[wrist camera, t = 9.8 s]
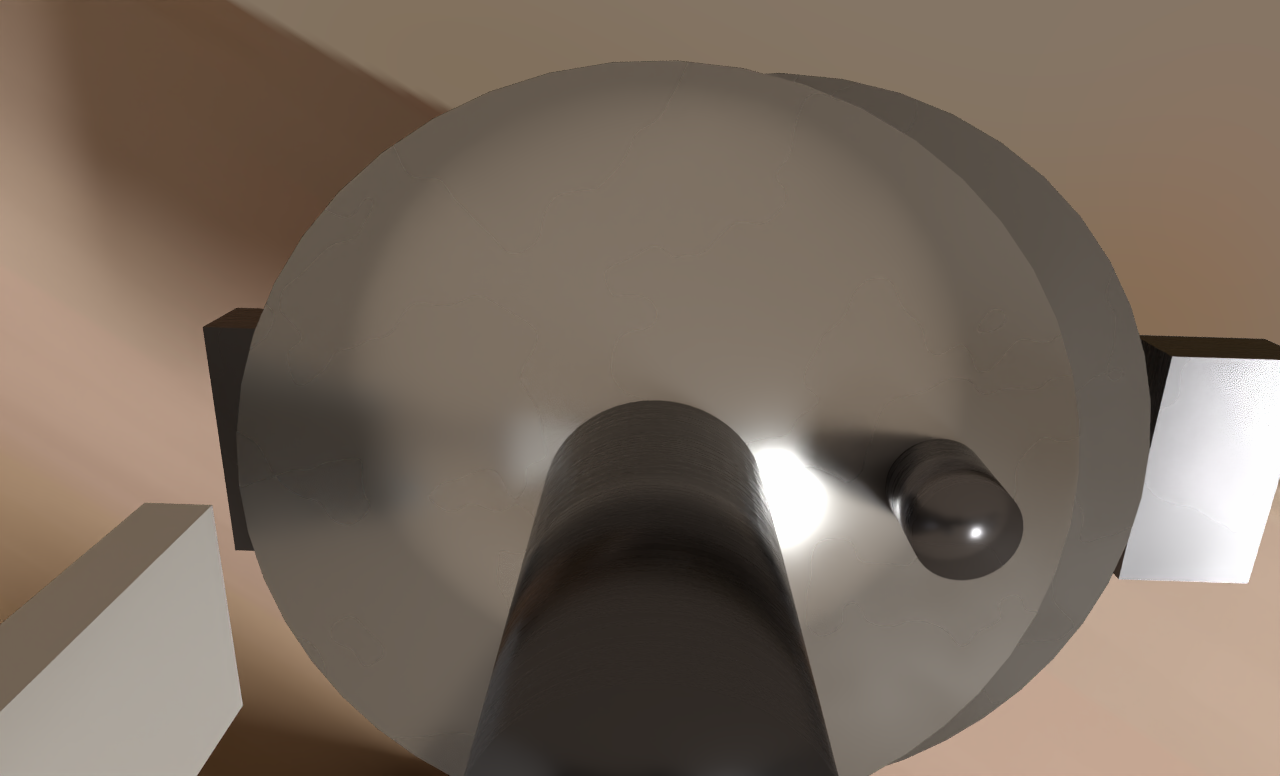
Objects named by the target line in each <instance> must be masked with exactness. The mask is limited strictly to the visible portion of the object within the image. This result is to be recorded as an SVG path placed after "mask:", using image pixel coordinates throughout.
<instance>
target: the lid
mask: <svg viewBox="0 0 1280 776" xmlns="http://www.w3.org/2000/svg"><path fill="white" fill-rule="evenodd" d="M236 436H237V456H238V476H239V488H240V493H241V498H242V503H243V508H244V513H245V518H246V523H247V529H248V533H249V536H250V539H251V542H252V545H253V548H254V551H255V554H256V557H257V560H258V563H259V566H260V568H261V571H262V574H263V577H264V580H265V582H266V584H267V586H268V588H269V590H270V592H271V594H272V596H273V598H274V600H275V602H276V604H277V606H278V608H279V610H280V612H281V614H282V616H283V618H284V620H285V622H286V623H287V625H288V626H289V628H290V629H291V631H292V632H293V634H294V635H295V637H296V638H297V640H298V641H299V643H300V644H301V646H302V647H303V649H304V650H305V652H306V653H307V655H308V656H309V658H310V659H311V661H312V662H313V663H314V664H315V665H316V667H317V668H318V669H319V670H320V671H321V672H322V673H323V675H324V676H325V677H326V678H327V679H328V680H329V682H330V683H331V684H332V685H333V686H334V687H335V688H336V690H337V691H338V692H339V693H340V694H341V695H342V697H343V698H345V699H346V700H347V701H348V702H349V703H350V704H351V705H352V706H353V707H354V708H355V709H357V710H358V711H359V712H360V713H361V714H362V715H363V716H364V717H365V718H366V719H368V720H369V721H370V722H371V723H372V724H373V725H374V726H375V727H376V728H377V729H379V730H380V731H382V732H383V733H384V734H386V735H387V736H388V737H390V738H391V739H393V740H394V741H395V742H397V743H398V744H399V745H401V746H402V747H404V748H405V749H406V750H408V751H409V752H411V753H412V754H413V755H415V756H416V757H418V758H420V759H422V760H423V761H425V762H427V763H429V764H430V765H432V766H434V767H436V768H437V769H439V770H441V771H443V772H444V773H446V774H448V775H450V776H869V775H871V774H873V773H874V772H876V771H878V770H879V769H881V768H883V767H885V766H886V765H888V764H890V763H892V762H893V761H895V760H897V759H898V758H900V757H902V756H904V755H905V754H907V753H908V752H910V751H911V750H912V749H914V748H915V747H916V746H918V745H919V744H920V743H922V742H923V741H924V740H926V739H927V738H928V737H930V736H931V735H932V734H934V733H935V732H936V731H938V730H939V729H941V728H942V727H943V726H945V725H946V724H947V723H948V722H949V721H950V720H951V719H952V718H953V717H954V716H955V715H956V714H957V713H958V712H959V711H960V710H962V709H963V708H964V707H965V706H966V705H967V704H968V703H969V702H970V701H971V700H972V699H973V698H974V697H975V696H976V695H977V694H978V693H979V692H980V691H981V690H982V689H983V688H984V686H985V685H986V684H987V683H988V682H989V680H990V679H991V678H992V677H993V676H994V674H995V673H996V672H997V671H998V670H999V668H1000V667H1001V666H1002V665H1003V664H1004V662H1005V661H1006V660H1007V659H1008V658H1009V656H1010V655H1011V653H1012V652H1013V650H1014V649H1015V647H1016V646H1017V644H1018V642H1019V641H1020V639H1021V638H1022V636H1023V635H1024V633H1025V631H1026V630H1027V628H1028V627H1029V625H1030V624H1031V622H1032V620H1033V619H1034V617H1035V616H1036V614H1037V612H1038V609H1039V607H1040V605H1041V603H1042V601H1043V599H1044V596H1045V594H1046V592H1047V590H1048V588H1049V586H1050V584H1051V581H1052V579H1053V577H1054V575H1055V573H1056V571H1057V567H1058V564H1059V561H1060V558H1061V554H1062V551H1063V548H1064V545H1065V541H1066V538H1067V535H1068V532H1069V528H1070V525H1071V520H1072V514H1073V507H1074V501H1075V495H1076V488H1077V482H1078V476H1079V417H1078V409H1077V402H1076V395H1075V388H1074V380H1073V373H1072V369H1071V365H1070V362H1069V359H1068V355H1067V352H1066V348H1065V345H1064V342H1063V338H1062V335H1061V331H1060V328H1059V325H1058V321H1057V318H1056V316H1055V314H1054V312H1053V310H1052V308H1051V306H1050V304H1049V301H1048V299H1047V297H1046V295H1045V293H1044V291H1043V289H1042V287H1041V284H1040V282H1039V280H1038V278H1037V276H1036V274H1035V272H1034V269H1033V268H1032V266H1031V265H1030V263H1029V262H1028V260H1027V259H1026V257H1025V256H1024V254H1023V253H1022V251H1021V250H1020V249H1019V247H1018V246H1017V244H1016V243H1015V241H1014V240H1013V238H1012V237H1011V235H1010V234H1009V232H1008V231H1007V229H1006V228H1005V226H1004V225H1003V223H1002V222H1001V221H1000V219H999V218H998V217H997V216H996V215H995V214H994V213H993V212H992V211H991V210H990V209H989V207H988V206H987V205H986V204H985V203H984V202H983V201H982V200H981V199H980V198H979V196H978V195H977V194H976V193H975V192H974V191H973V190H972V189H971V188H970V187H969V185H968V184H967V183H966V182H965V181H964V180H963V179H962V178H961V177H960V176H958V175H957V174H956V173H955V172H954V171H952V170H951V169H950V168H949V167H947V166H946V165H945V164H944V163H943V162H941V161H940V160H939V159H938V158H936V157H935V156H934V155H933V154H932V153H930V152H929V151H928V150H927V149H925V148H924V147H923V146H922V145H920V144H919V143H918V142H917V141H916V140H914V139H912V138H911V137H909V136H907V135H906V134H904V133H902V132H901V131H899V130H897V129H896V128H894V127H892V126H891V125H889V124H887V123H886V122H884V121H882V120H881V119H879V118H877V117H876V116H874V115H872V114H871V113H869V112H867V111H866V110H864V109H862V108H860V107H857V106H855V105H853V104H850V103H848V102H845V101H843V100H841V99H838V98H836V97H833V96H831V95H829V94H826V93H824V92H821V91H819V90H817V89H814V88H812V87H810V86H807V85H805V84H801V83H798V82H794V81H790V80H786V79H782V78H778V77H774V76H771V75H767V74H763V73H759V72H755V71H751V70H747V69H744V68H737V67H728V66H720V65H711V64H703V63H694V62H685V61H647V62H646V61H643V62H612V63H605V64H600V65H594V66H587V67H581V68H575V69H570V70H563V71H557V72H551V73H547V74H544V75H541V76H538V77H535V78H532V79H528V80H525V81H522V82H519V83H516V84H512V85H509V86H506V87H503V88H500V89H497V90H493V91H491V92H488V93H486V94H484V95H481V96H479V97H477V98H475V99H473V100H471V101H469V102H467V103H465V104H463V105H461V106H459V107H456V108H454V109H452V110H450V111H448V112H446V113H444V114H442V115H440V116H438V117H436V118H433V119H432V120H430V121H429V122H427V123H426V124H424V125H423V126H421V127H420V128H418V129H417V130H415V131H414V132H412V133H411V134H409V135H408V136H406V137H405V138H403V139H402V140H400V141H399V142H397V143H396V144H394V145H393V146H392V147H390V148H389V149H387V150H386V151H384V152H383V153H381V154H380V155H379V156H378V157H377V158H376V159H375V160H374V161H373V162H372V163H370V164H369V165H368V166H367V167H366V168H365V169H364V170H363V171H362V172H360V173H359V174H358V175H357V176H356V177H355V178H354V179H353V180H352V181H351V182H349V183H348V184H347V185H346V186H345V187H344V188H343V189H342V190H341V191H339V193H338V194H337V195H336V196H335V197H334V199H333V200H332V201H331V202H330V203H329V205H328V206H327V207H326V208H325V210H324V211H323V212H322V213H321V214H320V216H319V217H318V218H317V219H316V220H315V222H314V223H313V224H312V225H311V227H310V228H309V229H308V230H307V231H306V233H305V234H304V235H303V236H302V238H301V240H300V241H299V243H298V245H297V246H296V248H295V250H294V251H293V253H292V255H291V256H290V258H289V260H288V261H287V263H286V265H285V266H284V268H283V270H282V271H281V273H280V275H279V276H278V278H277V280H276V281H275V283H274V285H273V288H272V290H271V293H270V295H269V297H268V300H267V302H266V305H265V307H264V310H263V312H262V314H261V317H260V319H259V322H258V324H257V327H256V329H255V331H254V334H253V338H252V342H251V346H250V351H249V355H248V359H247V363H246V367H245V371H244V375H243V379H242V383H241V392H240V402H239V413H238V423H237V434H236Z"/></svg>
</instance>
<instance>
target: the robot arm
mask: <svg viewBox="0 0 1280 776" xmlns="http://www.w3.org/2000/svg"><path fill="white" fill-rule="evenodd" d="M242 706H243V703H242V697H241V690H240V683H239V677H238V670H237V664H236V657H235V651H234V644H233V638H232V631H231V625H230V618H229V612H228V605H227V599H226V592H225V585H224V579H223V572H222V566H221V559H220V553H219V546H218V540H217V533H216V527H215V520H214V514H213V507H212V505H194V504H164V503H144V504H143V505H142V506H140V507H139V508H138V509H137V510H136V511H134V512H133V513H132V514H131V515H130V516H129V517H127V518H126V519H125V520H124V521H123V522H121V523H120V524H119V525H118V526H117V527H115V528H114V529H113V530H112V531H111V532H110V533H108V534H107V535H106V536H105V537H104V538H102V539H101V540H100V541H99V542H98V543H97V544H95V545H94V546H93V547H92V548H91V549H89V550H88V551H87V552H86V553H85V554H83V555H82V556H81V557H80V558H79V559H78V560H76V561H75V562H74V563H73V564H72V565H70V566H69V567H68V568H67V569H66V570H64V571H63V572H62V573H61V574H60V575H59V576H57V577H56V578H55V579H54V580H53V581H51V582H50V583H49V584H48V585H47V586H45V587H44V588H43V589H42V590H41V591H40V592H38V593H37V594H36V595H35V596H34V597H32V598H31V599H30V600H29V601H28V602H27V603H25V604H24V605H23V606H22V607H21V608H19V609H18V610H17V611H16V612H15V613H13V614H12V615H11V616H10V617H9V618H8V619H6V620H5V621H4V622H3V623H2V624H0V776H197V775H198V773H199V772H200V770H201V769H202V767H203V766H204V764H205V763H206V761H207V760H208V758H209V756H210V755H211V753H212V752H213V750H214V749H215V747H216V746H217V744H218V743H219V741H220V740H221V738H222V737H223V735H224V734H225V732H226V730H227V729H228V727H229V726H230V724H231V723H232V721H233V720H234V718H235V717H236V715H237V714H238V712H239V711H240V709H241V708H242Z"/></svg>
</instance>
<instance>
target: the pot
mask: <svg viewBox="0 0 1280 776" xmlns="http://www.w3.org/2000/svg"><path fill="white" fill-rule="evenodd" d="M767 75H771V76H774V77H778V78H782V79H786V80H790V81H794V82H798V83H801V84H805V85H807V86H810V87H812V88H814V89H817V90H819V91H821V92H824V93H826V94H829V95H831V96H833V97H836V98H838V99H841V100H843V101H845V102H848V103H850V104H853V105H855V106H857V107H860V108H862V109H864V110H866V111H867V112H869V113H871V114H872V115H874V116H876V117H877V118H879V119H881V120H882V121H884V122H886V123H887V124H889V125H891V126H892V127H894V128H896V129H897V130H899V131H901V132H902V133H904V134H906V135H907V136H909V137H911V138H912V139H914V140H916V141H917V142H918V143H919V144H920V145H922V146H923V147H924V148H925V149H927V150H928V151H929V152H930V153H932V154H933V155H934V156H935V157H936V158H938V159H939V160H940V161H941V162H943V163H944V164H945V165H946V166H947V167H949V168H950V169H951V170H952V171H954V172H955V173H956V174H957V175H958V176H960V177H961V178H962V179H963V180H964V181H965V182H966V183H967V184H968V185H969V187H970V188H971V189H972V190H973V191H974V192H975V193H976V194H977V195H978V196H979V198H980V199H981V200H982V201H983V202H984V203H985V204H986V205H987V206H988V207H989V209H990V210H991V211H992V212H993V213H994V214H995V215H996V216H997V217H998V218H999V219H1000V221H1001V222H1002V223H1003V225H1004V226H1005V228H1006V229H1007V231H1008V232H1009V234H1010V235H1011V237H1012V238H1013V240H1014V241H1015V243H1016V244H1017V246H1018V247H1019V249H1020V250H1021V251H1022V253H1023V254H1024V256H1025V257H1026V259H1027V260H1028V262H1029V263H1030V265H1031V266H1032V268H1033V269H1034V272H1035V274H1036V276H1037V278H1038V280H1039V282H1040V284H1041V287H1042V289H1043V291H1044V293H1045V295H1046V297H1047V299H1048V301H1049V304H1050V306H1051V308H1052V310H1053V312H1054V314H1055V316H1056V318H1057V321H1058V325H1059V328H1060V331H1061V335H1062V338H1063V342H1064V345H1065V348H1066V352H1067V355H1068V359H1069V362H1070V365H1071V369H1072V373H1073V380H1074V388H1075V395H1076V402H1077V409H1078V417H1079V476H1078V482H1077V488H1076V495H1075V501H1074V507H1073V514H1072V520H1071V525H1070V528H1069V532H1068V535H1067V538H1066V541H1065V545H1064V548H1063V551H1062V554H1061V558H1060V561H1059V564H1058V567H1057V571H1056V573H1055V575H1054V577H1053V579H1052V581H1051V584H1050V586H1049V588H1048V590H1047V592H1046V594H1045V596H1044V599H1043V601H1042V603H1041V605H1040V607H1039V609H1038V612H1037V614H1036V616H1035V617H1034V619H1033V620H1032V622H1031V624H1030V625H1029V627H1028V628H1027V630H1026V631H1025V633H1024V635H1023V636H1022V638H1021V639H1020V641H1019V642H1018V644H1017V646H1016V647H1015V649H1014V650H1013V652H1012V653H1011V655H1010V656H1009V658H1008V659H1007V660H1006V661H1005V662H1004V664H1003V665H1002V666H1001V667H1000V668H999V670H998V671H997V672H996V673H995V674H994V676H993V677H992V678H991V679H990V680H989V682H988V683H987V684H986V685H985V686H984V688H983V689H982V690H981V691H980V692H979V693H978V694H977V695H976V696H975V697H974V698H973V699H972V700H971V701H970V702H969V703H968V704H967V705H966V706H965V707H964V708H963V709H962V710H960V711H959V712H958V713H957V714H956V715H955V716H954V717H953V718H952V719H951V720H950V721H949V722H948V723H947V724H946V725H945V726H943V727H942V728H941V729H939V730H938V731H936V732H935V733H934V734H932V735H931V736H930V737H928V738H927V739H926V740H924V741H923V742H922V743H920V744H919V745H918V746H916V747H915V748H914V749H912V750H911V751H910V752H908V753H907V754H905V755H904V756H902V757H900V758H898V759H897V760H895V761H893V762H892V763H890V764H893V763H896V762H899V761H901V760H904V759H907V758H909V757H911V756H913V755H915V754H917V753H920V752H922V751H924V750H926V749H928V748H930V747H933V746H935V745H937V744H939V743H941V742H944V741H946V740H947V739H949V738H951V737H952V736H954V735H956V734H957V733H959V732H961V731H962V730H964V729H966V728H967V727H969V726H971V725H972V724H974V723H976V722H977V721H979V720H981V719H982V718H984V717H985V716H987V715H988V714H989V713H991V712H992V711H993V710H995V709H996V708H997V707H999V706H1000V705H1001V704H1003V703H1004V702H1005V701H1007V700H1008V699H1009V698H1011V697H1012V696H1013V695H1015V694H1016V693H1017V692H1019V691H1020V690H1021V689H1022V688H1023V687H1024V686H1025V685H1026V684H1027V683H1028V682H1029V681H1030V680H1031V679H1033V678H1034V677H1035V676H1036V675H1037V674H1038V673H1039V672H1040V671H1041V670H1042V669H1043V668H1044V667H1045V666H1046V665H1047V664H1048V663H1049V662H1050V661H1051V660H1052V659H1054V657H1055V656H1056V655H1057V654H1058V653H1059V651H1060V650H1061V649H1062V648H1063V646H1064V645H1065V644H1066V643H1067V642H1068V640H1069V639H1070V638H1071V637H1072V636H1073V634H1074V633H1075V632H1076V631H1077V630H1078V628H1079V627H1080V626H1081V625H1082V623H1083V622H1084V621H1085V619H1086V617H1087V616H1088V614H1089V613H1090V611H1091V610H1092V608H1093V606H1094V605H1095V603H1096V602H1097V600H1098V599H1099V597H1100V595H1101V594H1102V592H1103V591H1104V589H1105V588H1106V586H1107V584H1108V583H1109V580H1110V578H1111V576H1112V574H1113V573H1114V574H1115V576H1116V577H1117V578H1118V579H1128V580H1158V581H1188V582H1219V583H1248V582H1249V579H1250V575H1251V572H1252V568H1253V565H1254V562H1255V558H1256V555H1257V552H1258V548H1259V545H1260V542H1261V538H1262V535H1263V531H1264V528H1265V525H1266V521H1267V518H1268V515H1269V511H1270V508H1271V505H1272V501H1273V498H1274V495H1275V491H1276V488H1277V484H1278V481H1279V478H1280V346H1279V345H1277V344H1275V343H1273V342H1270V341H1268V340H1266V339H1248V338H1215V337H1183V336H1182V337H1181V336H1149V335H1139V333H1138V330H1137V326H1136V323H1135V319H1134V316H1133V312H1132V309H1131V306H1130V303H1129V301H1128V299H1127V297H1126V295H1125V293H1124V290H1123V288H1122V286H1121V284H1120V282H1119V280H1118V277H1117V275H1116V273H1115V271H1114V269H1113V267H1112V264H1111V262H1110V260H1109V259H1108V257H1107V256H1106V254H1105V253H1104V251H1103V250H1102V248H1101V247H1100V245H1099V244H1098V242H1097V241H1096V239H1095V238H1094V236H1093V235H1092V233H1091V232H1090V230H1089V229H1088V227H1087V226H1086V224H1085V223H1084V221H1083V220H1082V218H1081V217H1080V216H1079V214H1078V213H1077V212H1076V211H1075V210H1074V209H1073V208H1072V207H1071V206H1070V205H1069V204H1068V203H1067V201H1066V200H1065V199H1064V198H1063V197H1062V196H1061V195H1060V194H1059V193H1058V191H1056V189H1055V188H1054V187H1053V186H1052V185H1051V184H1050V183H1049V182H1048V181H1047V179H1046V178H1045V177H1044V176H1042V175H1041V174H1040V173H1039V172H1037V171H1036V170H1035V169H1034V168H1032V167H1031V166H1030V165H1029V164H1027V163H1026V162H1025V161H1024V160H1022V159H1021V158H1020V157H1019V156H1017V155H1016V154H1015V153H1014V152H1012V151H1011V150H1010V149H1009V148H1008V147H1006V146H1005V145H1004V144H1002V143H1001V142H999V141H998V140H996V139H994V138H993V137H991V136H989V135H987V134H986V133H984V132H982V131H980V130H979V129H977V128H975V127H974V126H972V125H970V124H969V123H967V122H965V121H963V120H962V119H960V118H958V117H957V116H955V115H953V114H951V113H948V112H946V111H943V110H940V109H938V108H936V107H933V106H931V105H928V104H926V103H923V102H921V101H918V100H916V99H913V98H911V97H908V96H906V95H903V94H901V93H898V92H894V91H889V90H885V89H881V88H877V87H872V86H868V85H864V84H860V83H856V82H852V81H848V80H844V79H836V78H826V77H815V76H805V75H795V74H785V73H774V74H767ZM263 310H264V309H259V308H236V309H234V310H232V311H230V312H229V313H227V314H225V315H223V316H222V317H220V318H218V319H216V320H215V321H213V322H211V323H209V324H207V325H206V326H204V327H203V331H204V338H205V345H206V352H207V359H208V366H209V373H210V379H211V386H212V393H213V400H214V407H215V414H216V420H217V427H218V434H219V441H220V448H221V455H222V462H223V468H224V475H225V482H226V489H227V496H228V503H229V509H230V516H231V523H232V530H233V537H234V544H235V550H247V551H254V548H253V545H252V542H251V539H250V536H249V533H248V529H247V523H246V518H245V513H244V508H243V503H242V498H241V493H240V488H239V476H238V456H237V436H236V434H237V423H238V413H239V402H240V392H241V383H242V379H243V375H244V371H245V367H246V363H247V359H248V355H249V351H250V346H251V342H252V338H253V334H254V331H255V329H256V327H257V324H258V322H259V319H260V317H261V314H262V312H263ZM890 764H888V765H890ZM886 766H887V765H886Z"/></svg>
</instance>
